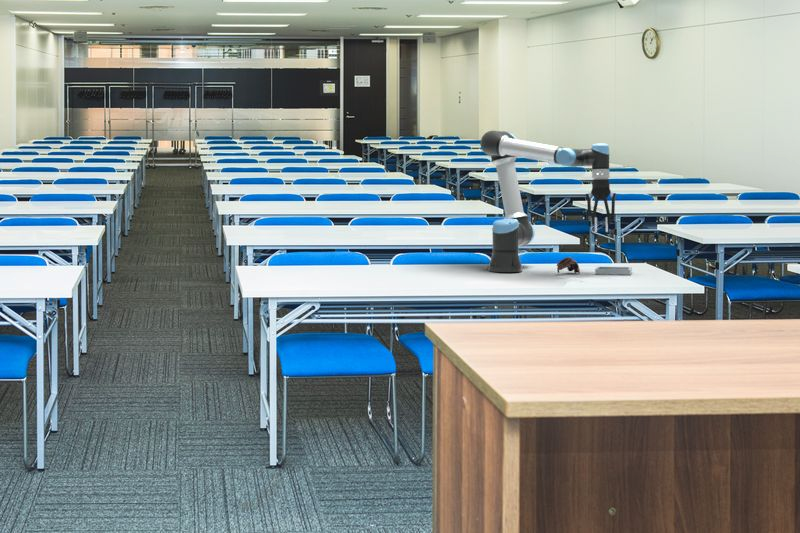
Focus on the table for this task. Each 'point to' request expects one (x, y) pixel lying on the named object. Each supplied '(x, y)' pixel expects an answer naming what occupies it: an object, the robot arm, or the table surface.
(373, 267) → the table surface
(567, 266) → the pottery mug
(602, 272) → the tray
